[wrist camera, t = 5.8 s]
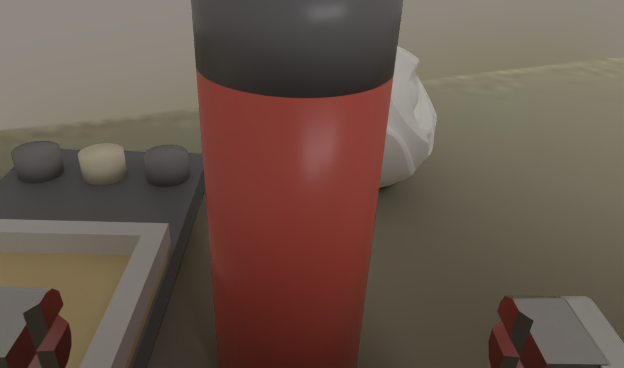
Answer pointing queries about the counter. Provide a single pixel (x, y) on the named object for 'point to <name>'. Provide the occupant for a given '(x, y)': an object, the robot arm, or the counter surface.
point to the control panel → (100, 239)
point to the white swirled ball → (407, 122)
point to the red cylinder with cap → (292, 170)
